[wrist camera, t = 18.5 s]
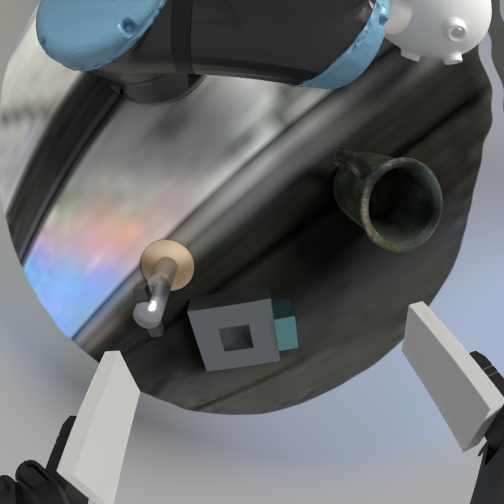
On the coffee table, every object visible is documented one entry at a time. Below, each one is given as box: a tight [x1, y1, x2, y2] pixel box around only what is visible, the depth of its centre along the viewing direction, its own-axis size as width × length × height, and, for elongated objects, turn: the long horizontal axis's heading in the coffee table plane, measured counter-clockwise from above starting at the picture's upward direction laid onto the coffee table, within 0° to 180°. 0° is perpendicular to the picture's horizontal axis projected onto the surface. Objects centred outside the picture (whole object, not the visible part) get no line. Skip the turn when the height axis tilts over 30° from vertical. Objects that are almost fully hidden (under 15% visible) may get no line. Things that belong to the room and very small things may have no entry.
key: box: [133, 257, 178, 337], centre depth 39 cm, size 3×6×13 cm, turn 9°
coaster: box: [141, 239, 194, 291], centre depth 45 cm, size 8×8×1 cm
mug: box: [331, 146, 442, 253], centre depth 37 cm, size 11×15×12 cm
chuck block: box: [187, 285, 298, 371], centre depth 48 cm, size 12×15×5 cm
